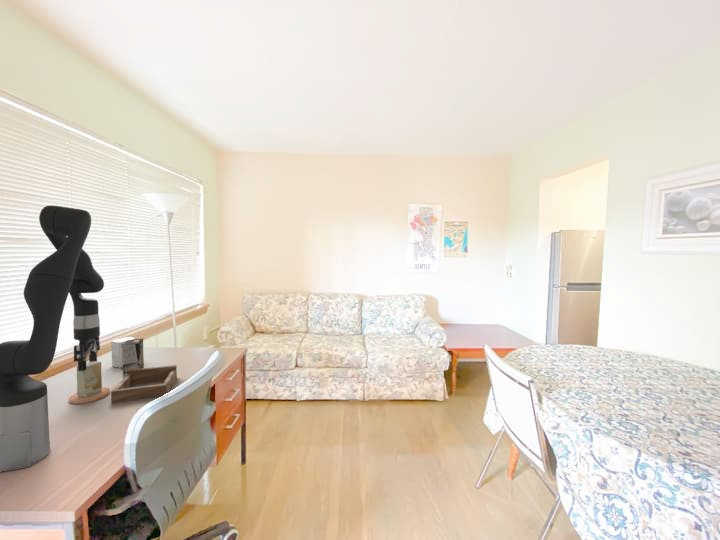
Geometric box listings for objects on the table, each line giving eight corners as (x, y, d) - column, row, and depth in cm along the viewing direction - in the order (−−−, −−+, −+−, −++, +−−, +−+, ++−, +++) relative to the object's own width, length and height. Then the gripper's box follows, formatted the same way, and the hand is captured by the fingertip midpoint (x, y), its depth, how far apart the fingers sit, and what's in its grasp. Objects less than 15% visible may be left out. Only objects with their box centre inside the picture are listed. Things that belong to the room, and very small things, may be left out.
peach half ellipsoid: (101, 401, 114) (101, 398, 114) (61, 406, 110) (61, 403, 109) (115, 387, 125) (115, 385, 125) (79, 391, 121) (78, 389, 121)
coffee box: (140, 378, 135) (139, 343, 134) (122, 380, 132) (121, 345, 131) (144, 370, 143) (143, 337, 142) (128, 372, 140) (127, 339, 139)
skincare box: (85, 398, 114) (84, 367, 113) (76, 397, 115) (75, 366, 114) (103, 390, 120) (101, 361, 119) (94, 389, 121) (93, 360, 120)
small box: (129, 361, 155) (128, 336, 154) (137, 362, 153) (136, 337, 152) (111, 366, 147) (110, 340, 146) (120, 368, 145) (119, 342, 144)
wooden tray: (166, 395, 119) (166, 381, 118) (111, 403, 112) (110, 387, 112) (176, 377, 136) (176, 364, 135) (129, 383, 129) (128, 369, 129)
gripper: (89, 329, 110) (91, 372, 111) (106, 321, 124) (107, 359, 124) (63, 331, 108) (65, 374, 108) (84, 322, 121) (85, 361, 122)
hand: (88, 366), depth 116 cm, fingers open, 8 cm apart
